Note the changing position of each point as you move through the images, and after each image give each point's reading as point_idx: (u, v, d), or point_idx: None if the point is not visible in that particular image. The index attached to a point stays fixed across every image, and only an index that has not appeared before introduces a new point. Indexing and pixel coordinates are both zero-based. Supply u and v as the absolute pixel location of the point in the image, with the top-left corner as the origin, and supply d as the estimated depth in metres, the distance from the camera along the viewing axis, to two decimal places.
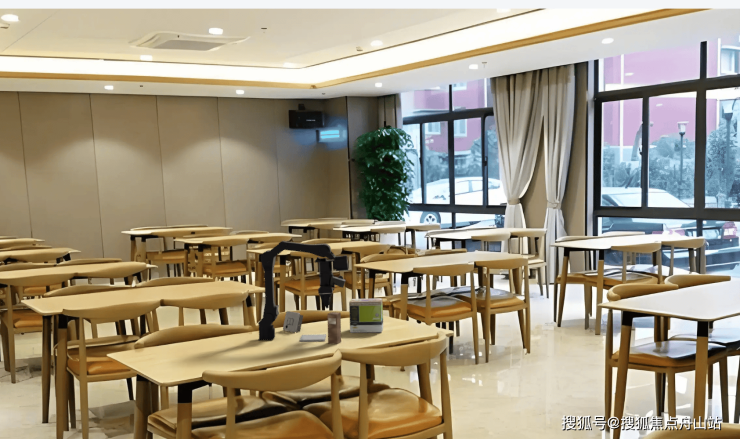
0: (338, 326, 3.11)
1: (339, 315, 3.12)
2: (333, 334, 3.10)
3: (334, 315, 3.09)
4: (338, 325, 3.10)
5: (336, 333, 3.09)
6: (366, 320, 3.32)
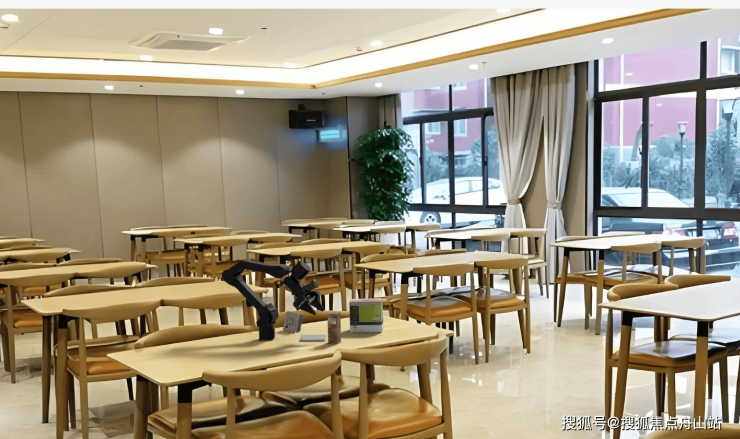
0: (338, 326, 3.11)
1: (339, 315, 3.12)
2: (333, 334, 3.10)
3: (334, 315, 3.09)
4: (338, 325, 3.10)
5: (336, 333, 3.09)
6: (366, 320, 3.32)
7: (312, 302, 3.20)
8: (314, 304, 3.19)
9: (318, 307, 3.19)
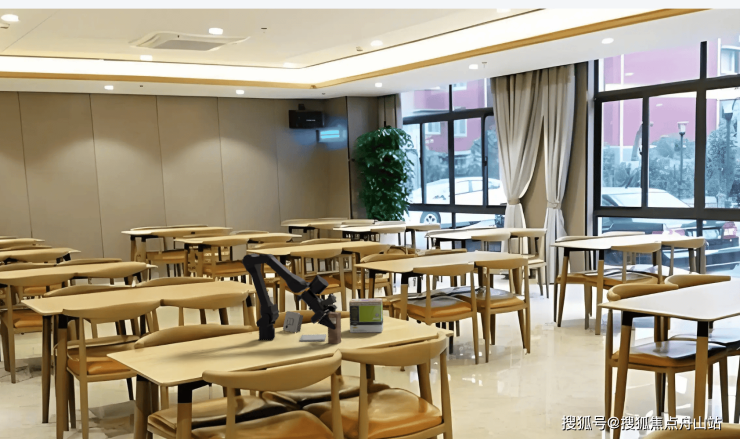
0: (338, 326, 3.11)
1: (339, 315, 3.12)
2: (333, 333, 3.10)
3: (334, 315, 3.09)
4: (338, 325, 3.11)
5: (336, 333, 3.09)
6: (366, 320, 3.32)
7: None
8: None
9: None
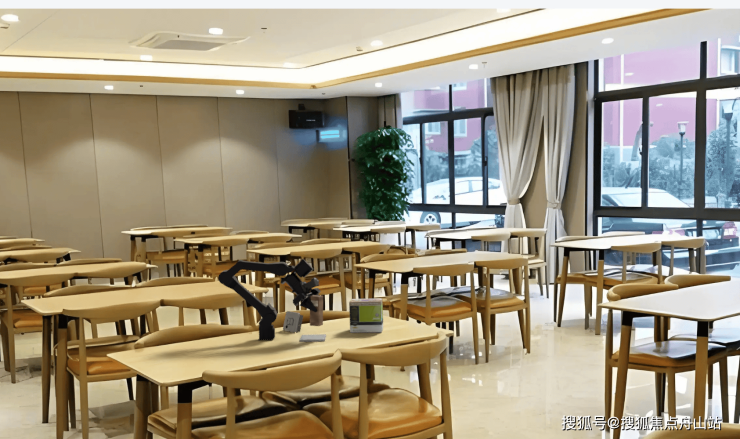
0: (320, 309, 3.17)
1: (321, 298, 3.18)
2: (315, 316, 3.16)
3: (316, 298, 3.16)
4: (320, 308, 3.17)
5: (318, 315, 3.16)
6: (366, 320, 3.32)
7: None
8: None
9: None
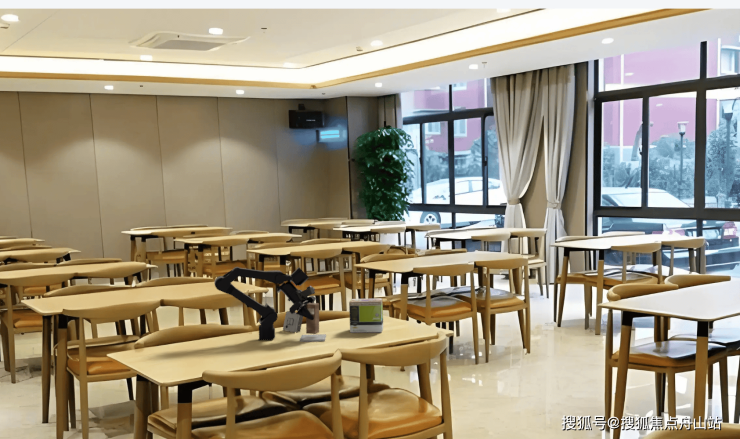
0: (317, 316, 3.20)
1: (317, 306, 3.21)
2: (312, 324, 3.19)
3: (312, 305, 3.18)
4: (316, 315, 3.19)
5: (314, 323, 3.18)
6: (366, 320, 3.32)
7: None
8: None
9: None
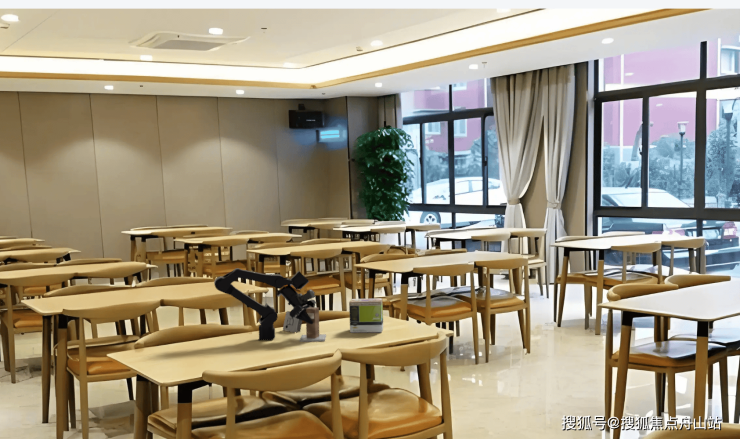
0: (316, 321, 3.20)
1: (317, 310, 3.21)
2: (312, 328, 3.18)
3: (312, 310, 3.18)
4: (316, 320, 3.19)
5: (314, 327, 3.18)
6: (366, 320, 3.32)
7: None
8: None
9: None
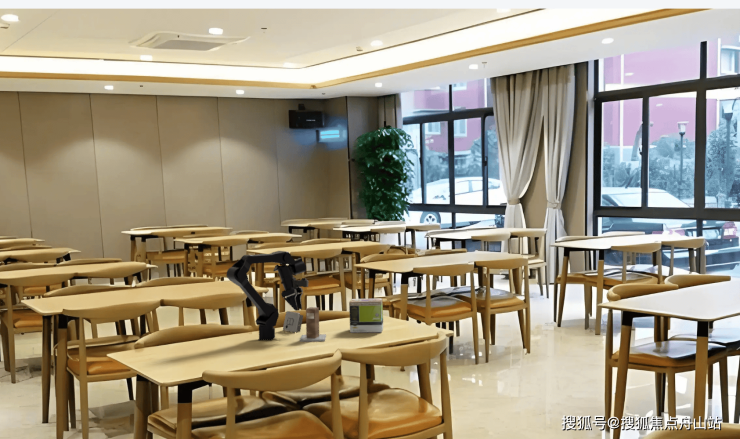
0: (316, 321, 3.20)
1: (317, 310, 3.21)
2: (312, 328, 3.18)
3: (312, 310, 3.18)
4: (316, 320, 3.19)
5: (314, 327, 3.18)
6: (366, 320, 3.32)
7: None
8: None
9: (297, 304, 3.31)
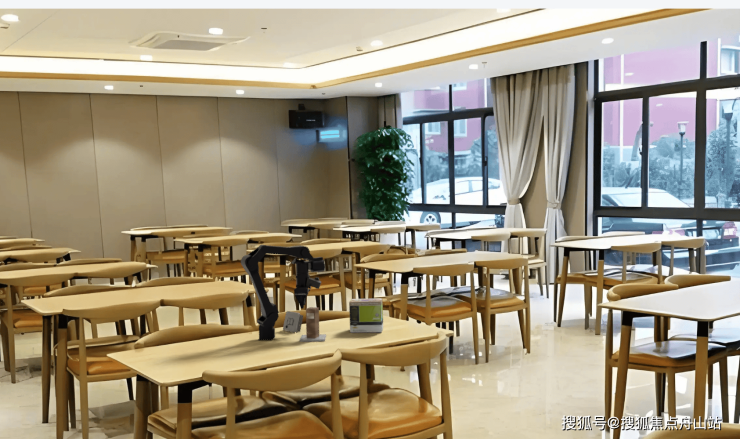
0: (316, 321, 3.20)
1: (317, 310, 3.21)
2: (312, 328, 3.18)
3: (312, 310, 3.18)
4: (316, 320, 3.19)
5: (314, 327, 3.18)
6: (366, 320, 3.32)
7: None
8: None
9: None
